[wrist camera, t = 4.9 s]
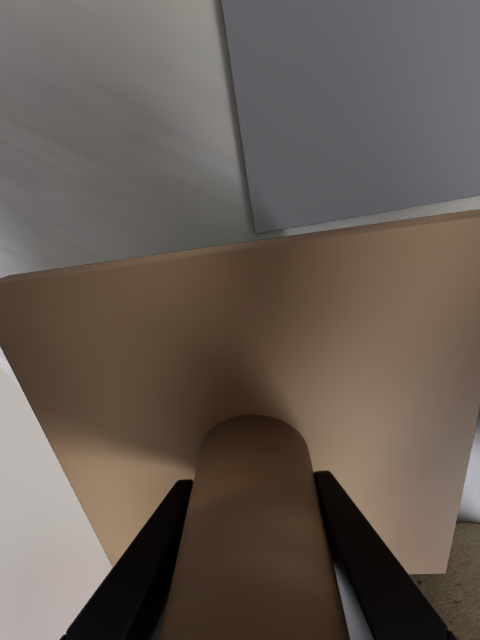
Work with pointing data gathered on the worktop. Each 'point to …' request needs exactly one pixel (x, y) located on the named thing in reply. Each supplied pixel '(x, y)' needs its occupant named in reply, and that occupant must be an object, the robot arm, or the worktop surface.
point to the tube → (457, 584)
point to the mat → (355, 105)
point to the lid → (262, 406)
